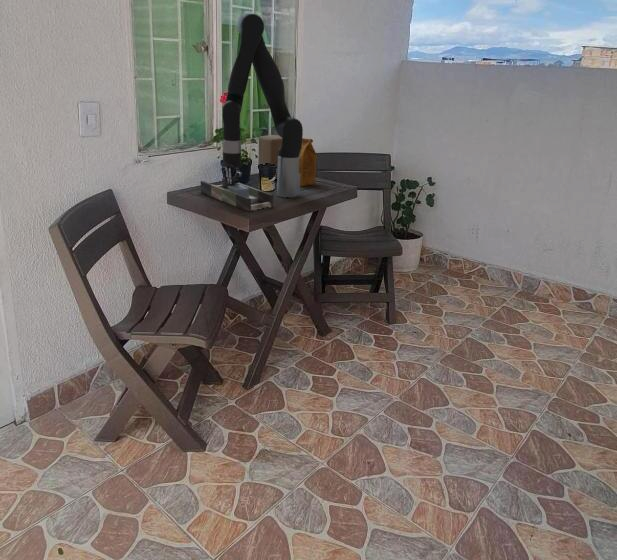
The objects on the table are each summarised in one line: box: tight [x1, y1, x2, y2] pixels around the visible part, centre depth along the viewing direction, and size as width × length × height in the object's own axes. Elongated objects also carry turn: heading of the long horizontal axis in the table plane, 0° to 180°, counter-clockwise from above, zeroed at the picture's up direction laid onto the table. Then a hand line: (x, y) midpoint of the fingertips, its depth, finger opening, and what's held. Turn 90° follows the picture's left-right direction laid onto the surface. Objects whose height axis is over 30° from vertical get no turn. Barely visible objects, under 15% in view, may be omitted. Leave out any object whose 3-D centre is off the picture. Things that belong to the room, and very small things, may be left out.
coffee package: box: [299, 137, 317, 187], centre depth 262 cm, size 10×12×22 cm
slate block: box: [228, 185, 249, 198], centre depth 230 cm, size 6×7×4 cm
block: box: [257, 134, 282, 179], centre depth 271 cm, size 10×10×20 cm
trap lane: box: [200, 177, 274, 212], centre depth 234 cm, size 12×35×5 cm, turn 42°
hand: (231, 192), depth 236 cm, fingers closed
